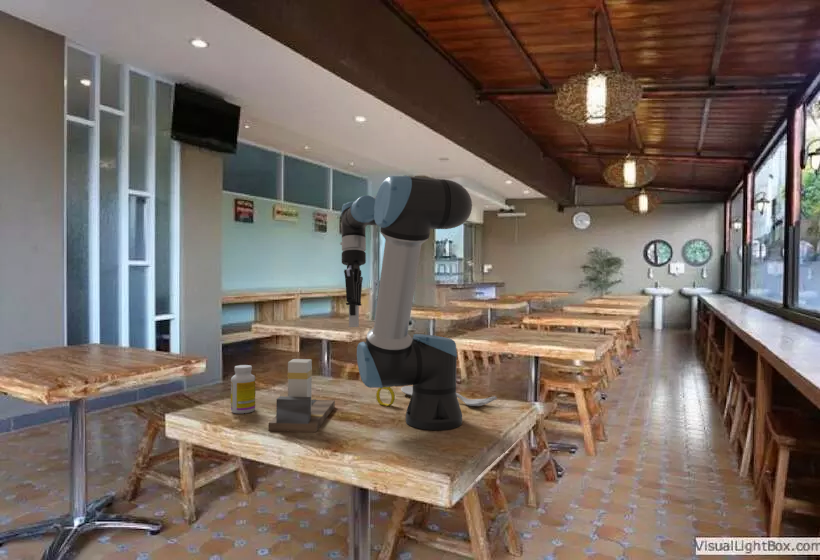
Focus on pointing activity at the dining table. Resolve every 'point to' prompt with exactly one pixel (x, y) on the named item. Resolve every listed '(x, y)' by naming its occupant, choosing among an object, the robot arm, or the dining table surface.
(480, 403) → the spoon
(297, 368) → the banded white pillar
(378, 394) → the yellow ring
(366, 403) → the dining table surface
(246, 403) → the supplement bottle
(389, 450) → the dining table surface
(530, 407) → the dining table surface
